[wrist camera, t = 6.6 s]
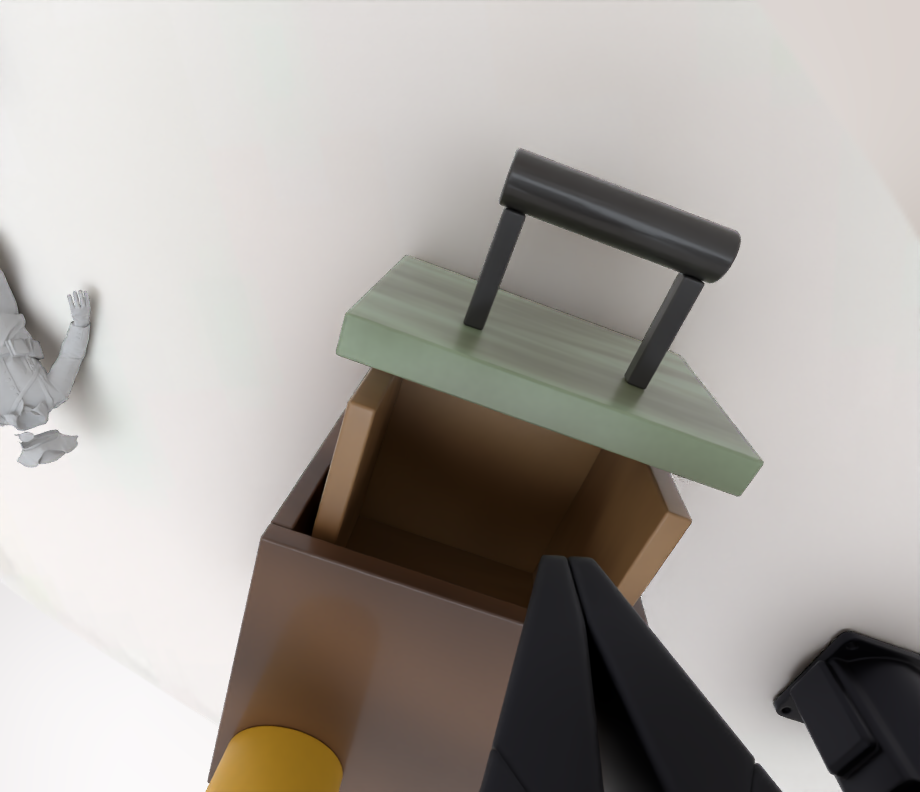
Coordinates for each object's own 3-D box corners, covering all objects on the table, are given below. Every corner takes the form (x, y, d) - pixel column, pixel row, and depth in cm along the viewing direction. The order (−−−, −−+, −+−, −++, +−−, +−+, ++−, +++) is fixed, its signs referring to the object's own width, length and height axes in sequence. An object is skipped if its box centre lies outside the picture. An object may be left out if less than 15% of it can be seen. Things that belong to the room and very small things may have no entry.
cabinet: (353, 396, 23) (259, 537, 15) (610, 486, 24) (661, 669, 16) (296, 599, 29) (206, 783, 21) (505, 667, 30) (500, 872, 21)
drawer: (444, 118, 18) (397, 101, 11) (749, 236, 18) (892, 290, 11) (333, 503, 25) (262, 640, 18) (552, 577, 26) (565, 736, 19)
